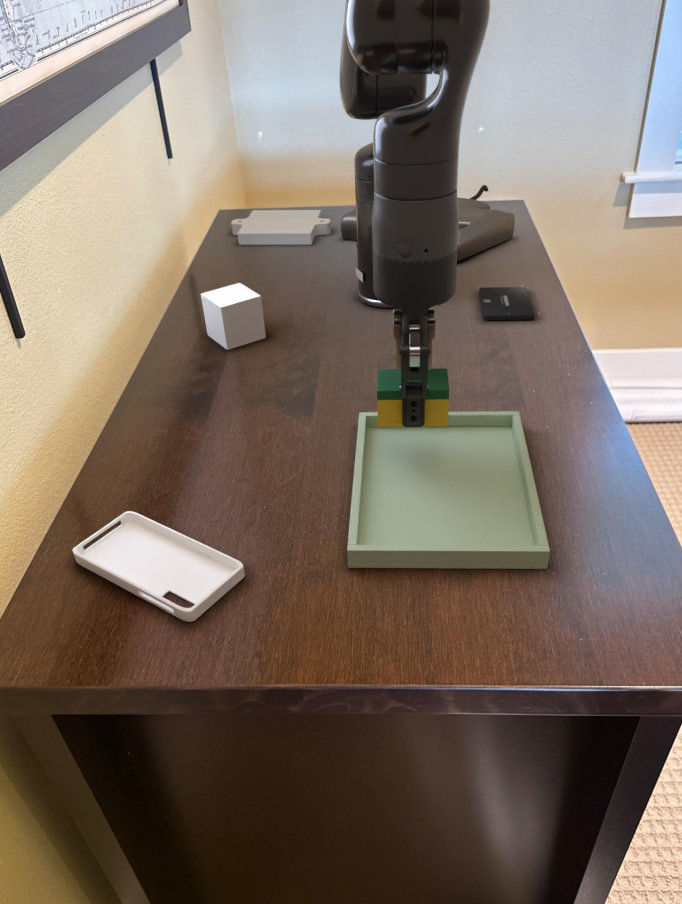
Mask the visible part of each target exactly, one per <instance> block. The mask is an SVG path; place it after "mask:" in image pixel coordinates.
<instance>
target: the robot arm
mask: <svg viewBox="0 0 682 904" xmlns="http://www.w3.org/2000/svg"><path fill="white" fill-rule="evenodd" d="M490 14H491V0H345V6H344V15H343V26H342V36H341V48H340V58H339V81H338V83H339V95H340V96H339V97H340V100H341V104H342V108H343V110H344V112H345V114H347V116H348V117H350V118H351V119H354V120H361V121H372V120H375V123H374V126H373V133H372V138H373V139H372V142H370V143H368V144H365V145H363V146H362V147H360V148H359V149H358V150H357V151H356V153H355V155H354V159H353V162H354V163H353V168H354V169H353V170H354V195H355V209H356V225H357V240H356V250H357V251H356V253H357V267H355V277H357V285H358V288H357V298H358V300H359V301H360V302H362V303H363V304H365V305H367V306H370V307H375V308H383V309H393V310H392V313H393V315H392V317H393V318H392V337H393V339H394V340H395V369H397V370H399V371H400V372H401V386H400V389H399V394H401V398H402V425H403V426H404V427H422V426H423V425H424V423H425V398H427V394H429V388H428V385H427V384H428V370H430V369H433V348H434V347H433V341H434V339H435V338H436V330H437V329H436V327H437V326H436V325H437V324H436V322H437V321H436V319H435V318H436V317H435V316H436V308H434V307H436V306H441V305H443V304H445V303H447V302H449V301H450V300H451V299H452V298H453V297H454V295H455V293H456V289H457V267H458V261H457V249H458V226H459V210H458V199H457V197H458V185H459V184H458V181H459V158H460V142H461V131H462V123H463V117H464V112H465V107H466V102H467V99H468V95H469V91H470V87H471V83H472V79H473V76H474V73H475V70H476V67H477V63H478V61H479V57H480V54H481V51H482V48H483V45H484V41H485V37H486V34H487V30H488V26H489V23H490V21H489V20H490V16H491V15H490ZM433 74H434V75H438V76H439V78H438V82H437V85H436V87H435V89H434V90H433V91H432V92H431V93H430V95H428V96H427V89H428V88H427V87H428V75H433ZM484 192H489V187H488V185H486V184H483V185H481V187H480V188H479V190H478V191H477V193H476V194H475V195H473V196H471V197H470V198H469V199H473V200H477V201H478V199H479V198H480V197H481V196H482V195H483V193H484ZM407 381H422V383H421V382H407Z"/></svg>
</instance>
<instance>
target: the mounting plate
mask: <svg viewBox="0 0 682 904" xmlns="http://www.w3.org/2000/svg"><path fill="white" fill-rule="evenodd" d="M322 214H323V213H322V209H269V210H268V209H253V210H252V211H251V212H250V214H249V215H248V217H245V218H235V219H232V220H231V222H230V226H231V233H232V235H233V236H237V242H238V245H240V246H249V245H251V246H253V245H254V246H258V245H259V246H262V245H264V246H265V245H267V246H270V245H271V246H272V245H273V246H276V245H277V246H279V245H280V246H282V245H284V246H285V245H286V246H287V245H291V246H292V245H294V246H295V245H297V246H298V245H301V246H302V245H303V246H306V245H308V246H309V245H312V244H313V242H314V240H315V238H316V237H317V236H328V235H330V234H331V233H332V225H331V224H332V223H331V219H330V218H326V217H325V218H323V216H322Z"/></svg>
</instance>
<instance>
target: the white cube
mask: <svg viewBox="0 0 682 904" xmlns="http://www.w3.org/2000/svg"><path fill="white" fill-rule="evenodd" d="M200 297H201V298H200V300H201V304H202V310H203V316H204V323H205V328H206V334H207V336H208V337H209V338H210V339H212V340H213V341H214V342H216V343H217V344H218V345H220V346H221V347H223V349H225V350H226V351H229V350H232V349H235V348H238V347H242V346H245V345H248V344H251V343H254V342H257V341H261V340H263V339H266V338H267V335H266V326H265V318H264V310H263V309H264V308H263V302H262V296H261V295H260V294H259V293H257V292H256V291H254V290H253V289H251V288H249V287H248V286H246V285H244V284H243V283H241V282H237V283H234V284H230V285H226V286H223V287H218V288H216V289H212V290H208V291H204V292H202V293H200Z"/></svg>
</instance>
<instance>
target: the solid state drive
mask: <svg viewBox="0 0 682 904" xmlns="http://www.w3.org/2000/svg"><path fill="white" fill-rule="evenodd" d="M478 295H479V301H480V306H481V307H480V308H481V312H482V318H483V320H484V321H511V320H512V321H513V320H515V321H517V320H518V321H519V320H521V321H523V320H525V321H526V320H534V319H535V315H536V313H535V310H534V307H533V305H532V304H533V303H532V300H531V297H530V293H529V291H528V287H526V286H499V287H498V286H495V287H494V286H493V287H492V286H491V287H490V286H489V287H488V286H487V287H479V288H478Z"/></svg>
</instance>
